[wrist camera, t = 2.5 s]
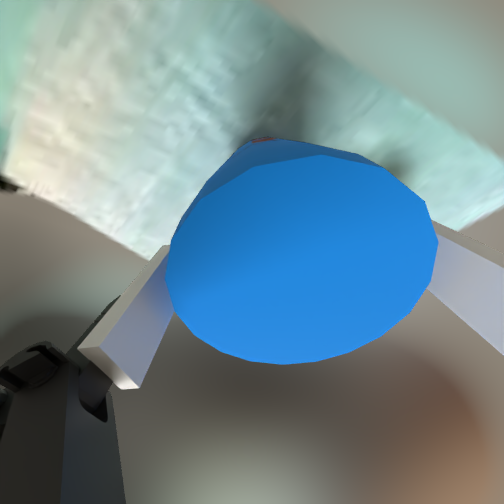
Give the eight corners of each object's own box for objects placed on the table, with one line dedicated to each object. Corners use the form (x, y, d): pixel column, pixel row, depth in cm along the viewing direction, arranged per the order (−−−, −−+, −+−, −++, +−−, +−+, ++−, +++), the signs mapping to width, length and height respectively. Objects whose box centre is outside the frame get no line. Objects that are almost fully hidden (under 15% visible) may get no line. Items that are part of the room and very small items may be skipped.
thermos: (216, 190, 30) (130, 325, 9) (250, 119, 25) (242, 35, 4) (273, 222, 33) (312, 383, 12) (313, 164, 28) (507, 260, 7)
